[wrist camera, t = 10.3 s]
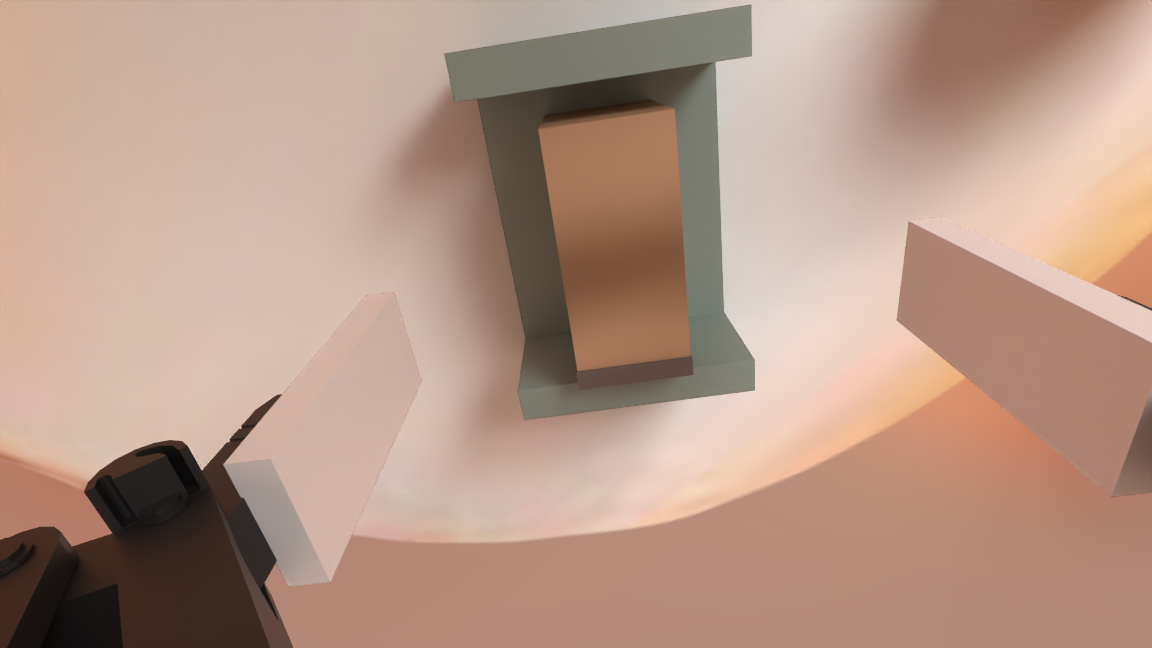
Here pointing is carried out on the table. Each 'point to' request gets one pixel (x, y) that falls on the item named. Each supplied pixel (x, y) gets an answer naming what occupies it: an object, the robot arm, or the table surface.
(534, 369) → the bracket
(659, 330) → the rail end
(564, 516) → the table surface
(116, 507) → the robot arm
